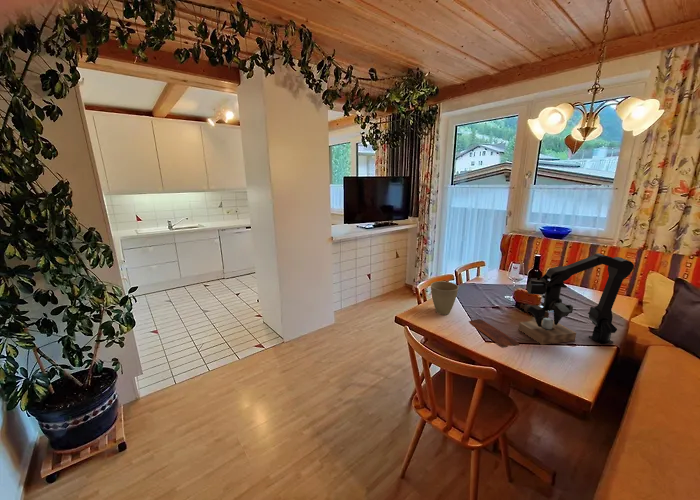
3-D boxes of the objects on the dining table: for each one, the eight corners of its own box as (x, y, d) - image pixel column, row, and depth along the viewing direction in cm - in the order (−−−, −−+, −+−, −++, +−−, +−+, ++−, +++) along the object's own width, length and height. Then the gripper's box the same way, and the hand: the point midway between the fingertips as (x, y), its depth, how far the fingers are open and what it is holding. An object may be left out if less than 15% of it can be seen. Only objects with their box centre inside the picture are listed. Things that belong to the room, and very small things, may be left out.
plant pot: (434, 304, 175) (435, 279, 171) (459, 310, 167) (461, 284, 163) (425, 313, 163) (426, 287, 159) (451, 320, 155) (454, 292, 151)
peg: (545, 332, 142) (548, 317, 140) (552, 336, 138) (555, 321, 136) (538, 333, 141) (541, 318, 139) (545, 337, 137) (548, 322, 135)
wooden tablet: (520, 346, 131) (521, 343, 131) (502, 349, 129) (502, 346, 129) (481, 319, 157) (482, 316, 156) (465, 321, 154) (466, 318, 154)
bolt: (521, 311, 169) (545, 322, 154) (516, 308, 167) (539, 319, 153) (526, 303, 168) (550, 313, 154) (521, 299, 167) (545, 309, 153)
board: (549, 326, 148) (550, 319, 147) (574, 340, 134) (576, 332, 133) (518, 329, 145) (519, 322, 144) (541, 344, 131) (542, 336, 130)
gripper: (549, 303, 125) (544, 336, 129) (585, 300, 129) (579, 332, 132) (529, 294, 136) (525, 324, 140) (563, 291, 139) (558, 320, 143)
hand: (547, 325), depth 138 cm, fingers open, 9 cm apart
